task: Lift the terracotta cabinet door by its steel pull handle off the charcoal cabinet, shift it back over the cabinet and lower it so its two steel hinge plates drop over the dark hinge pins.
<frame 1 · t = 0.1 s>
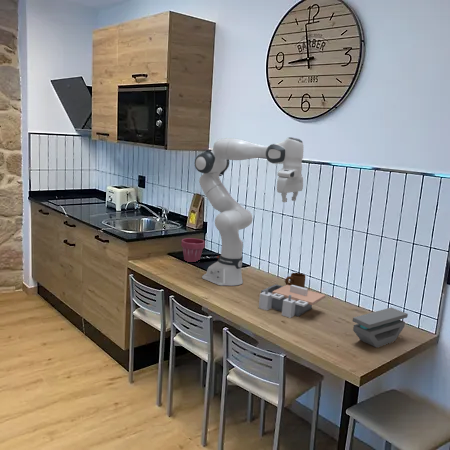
hand: (289, 201, 230), 48 cm above the countertop, tool pointing down, fingers open, 8 cm apart
plant pot: (191, 261, 291), on the countertop
door: (298, 295, 220), point 7 cm above the countertop, touching cabinet
cabinet: (285, 306, 225), on the countertop
mug: (293, 293, 246), on the countertop
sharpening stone: (377, 341, 194), on the countertop
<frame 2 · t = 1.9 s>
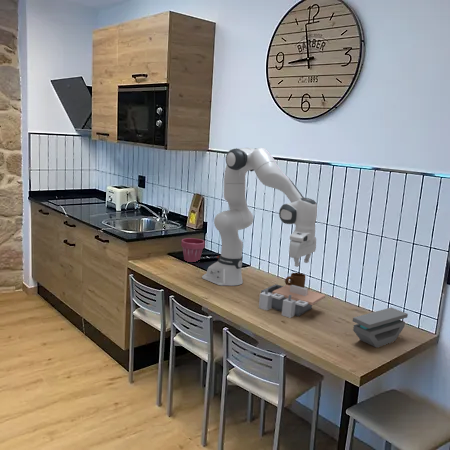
hand: (301, 264, 217), 22 cm above the countertop, tool pointing down, fingers open, 8 cm apart
nothing on the countertop moved.
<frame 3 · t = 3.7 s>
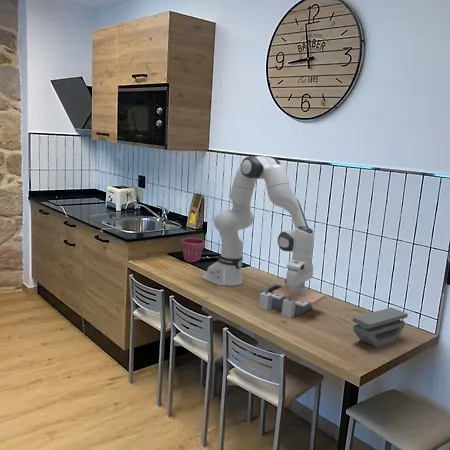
hand: (298, 291, 219), 9 cm above the countertop, tool pointing down, fingers closed on door, 2 cm apart
door: (298, 295, 220), point 7 cm above the countertop, touching cabinet, gripper
everything else where it was.
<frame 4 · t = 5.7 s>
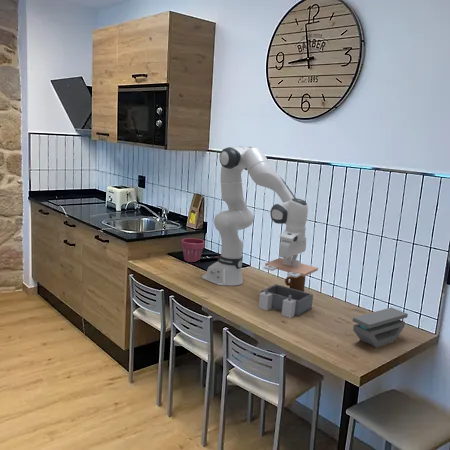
hand: (291, 263, 220), 21 cm above the countertop, tool pointing down, fingers closed on door
door: (291, 268, 221), point 19 cm above the countertop, touching gripper
everything else where it was.
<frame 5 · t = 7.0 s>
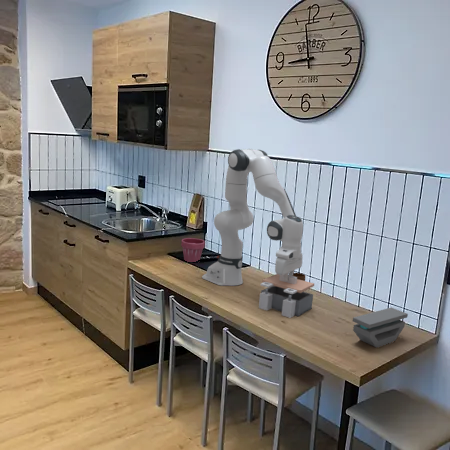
hand: (287, 280, 222), 13 cm above the countertop, tool pointing down, fingers closed on door
door: (288, 284, 223), point 11 cm above the countertop, touching gripper
everything else where it was.
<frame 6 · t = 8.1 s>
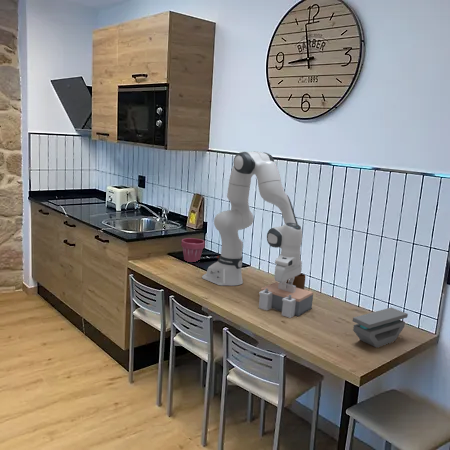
hand: (287, 287, 223), 10 cm above the countertop, tool pointing down, fingers open, 4 cm apart
door: (286, 292, 223), point 7 cm above the countertop, touching cabinet
everything else where it was.
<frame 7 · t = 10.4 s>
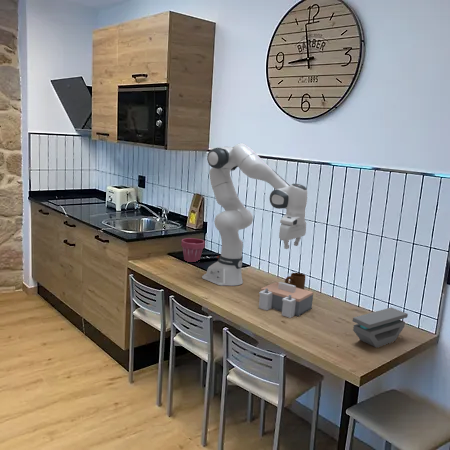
hand: (291, 247, 228), 27 cm above the countertop, tool pointing down, fingers open, 8 cm apart
nothing on the countertop moved.
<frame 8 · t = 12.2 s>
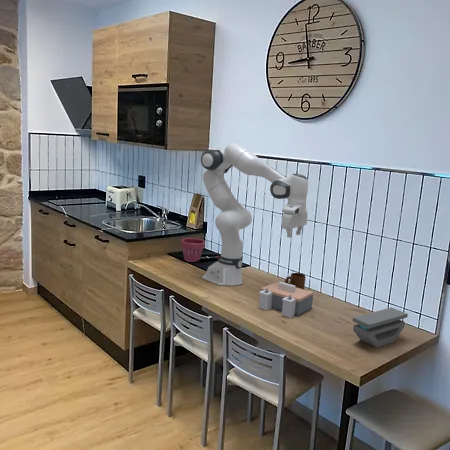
hand: (293, 236, 233), 31 cm above the countertop, tool pointing down, fingers open, 8 cm apart
nothing on the countertop moved.
at the end: door 0.3 cm off-centre on the cabinet, point 7.0 cm above the cabinet's base; the gripper is holding nothing; door tilted 0° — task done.
